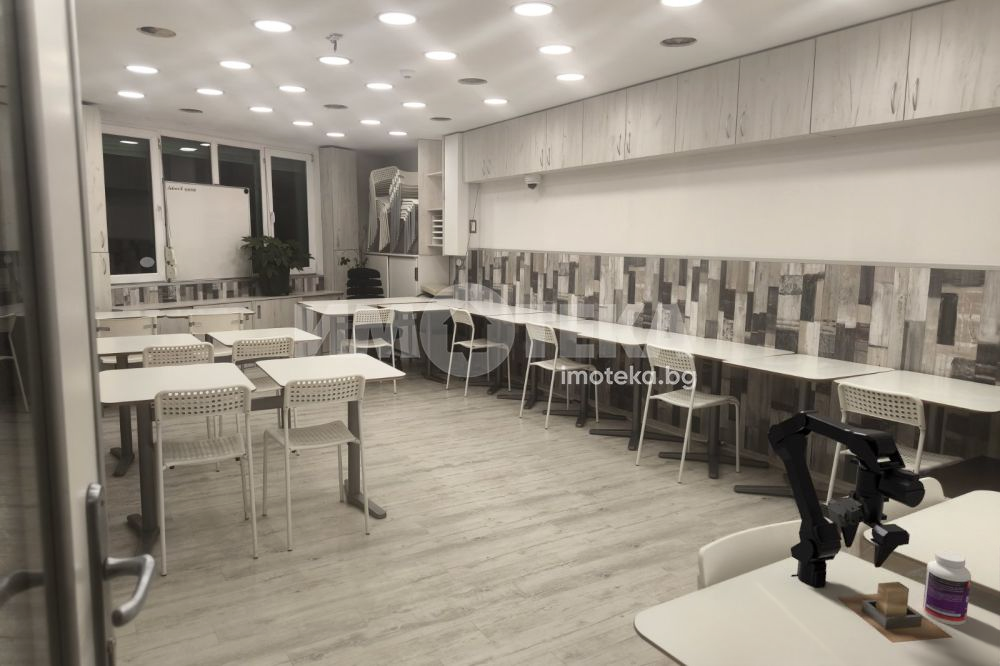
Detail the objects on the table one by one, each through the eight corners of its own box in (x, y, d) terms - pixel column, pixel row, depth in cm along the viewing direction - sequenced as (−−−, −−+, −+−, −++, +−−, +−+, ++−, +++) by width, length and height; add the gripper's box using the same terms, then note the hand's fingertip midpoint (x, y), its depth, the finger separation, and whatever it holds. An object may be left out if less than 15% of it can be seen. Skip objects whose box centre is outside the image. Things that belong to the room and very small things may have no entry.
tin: (861, 610, 151) (862, 600, 151) (895, 608, 153) (896, 598, 152) (885, 629, 144) (886, 619, 144) (920, 626, 146) (922, 616, 145)
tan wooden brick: (875, 613, 149) (878, 583, 148) (895, 611, 150) (898, 581, 149) (885, 621, 146) (888, 590, 146) (905, 619, 147) (909, 588, 146)
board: (835, 599, 157) (835, 596, 157) (890, 595, 160) (890, 592, 160) (891, 645, 140) (892, 642, 140) (952, 640, 142) (953, 637, 142)
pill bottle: (972, 630, 146) (980, 566, 144) (930, 625, 148) (938, 562, 146) (955, 610, 154) (963, 549, 152) (916, 606, 155) (922, 545, 153)
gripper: (809, 475, 156) (803, 539, 159) (867, 508, 138) (858, 581, 141) (853, 473, 158) (846, 537, 161) (915, 506, 140) (906, 577, 143)
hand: (862, 556), depth 151 cm, fingers open, 9 cm apart
